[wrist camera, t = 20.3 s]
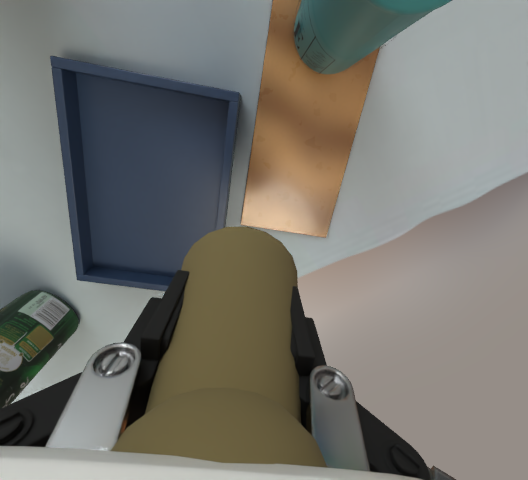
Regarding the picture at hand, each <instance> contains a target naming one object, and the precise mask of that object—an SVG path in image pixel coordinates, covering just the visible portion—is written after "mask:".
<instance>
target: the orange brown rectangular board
mask: <svg viewBox="0 0 528 480" xmlns="http://www.w3.org/2000/svg"><path fill="white" fill-rule="evenodd" d="M298 3H299V4H298ZM300 3H301V1H300V2H299V0H273V4H272V11H271V18H270V25H269V32H268V39H267V45H266V52H265V59H264V66H263V73H262V80H261V87H260V94H259V101H258V108H257V115H256V122H255V128H254V135H253V142H252V149H251V156H250V163H249V170H248V177H247V184H246V191H245V198H244V204H243V211H242V218H241V225H246V226H253V227H259V228H266V229H272V230H279V231H286V232H292V233H299V234H305V235H312V236H319V237H325V238H326V236H327V232H328V229H329V225H330V222H331V218H332V214H333V211H334V207H335V204H336V200H337V197H338V193H339V190H340V186H341V183H342V179H343V176H344V172H345V169H346V165H347V161H348V158H349V154H350V151H351V147H352V144H353V140H354V137H355V133H356V130H357V126H358V123H359V119H360V116H361V112H362V108H363V105H364V101H365V98H366V94H367V91H368V87H369V84H370V80H371V77H372V73H373V70H374V66H375V63H376V59H377V55H378V52H379V48H380V47H379V48H377V49H376V50H374V51H373V52H371V54H368V55H367V56H365V57H364V58H362V59H361V60H360V61H358V62H359V63H358V62H357V63H358V65H357V63H355V64H354V65H352V66H351V67H349V68H350V69H349V68H348V69H346V70H347V71H346V70H344V71H342V72H339V73H336V74H321V73H320V74H319V73H318V72H315V71H313V70H312V69H310V68H309V67H308V66H307V65H306V64H305V63H304V62H303V61H302V59H301V58H300V56H299V54H298V51H297V48H296V46H295V42H293V41H294V40H295V39H294V35H293V33H294V26H295V25H293V24H294V23H295V20H296V16H297V12H298V9H299V6H300ZM297 6H298V7H297ZM296 9H297V11H296ZM295 13H296V14H295ZM294 18H295V20H294ZM372 53H373V54H372ZM370 55H371V56H370ZM300 59H301V60H300ZM362 60H363V61H362ZM303 63H304V64H305V65H304V64H303ZM307 67H308V68H309V69H308V68H307ZM352 67H353V68H352ZM314 72H315V73H314ZM343 72H344V73H343Z"/></svg>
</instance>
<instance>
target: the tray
mask: <svg viewBox="0 0 528 480" xmlns="http://www.w3.org/2000/svg"><path fill="white" fill-rule="evenodd" d="M50 59H51V66H52V75H53V84H54V92H55V101H56V109H57V117H58V126H59V134H60V142H61V151H62V159H63V167H64V176H65V184H66V192H67V201H68V209H69V217H70V226H71V234H72V242H73V251H74V259H75V267H76V276H77V280H80V281H88V282H96V283H104V284H112V285H119V286H127V287H135V288H143V289H151V290H159V291H166V290H167V288H168V286H169V285H170V283H171V281H172V279H173V277H174V276H175V274H176V272H177V270H181V269H182V265H183V261H184V258H185V256H186V255H187V253H188V252H189V250H190V249H191V247H192V246H193V244H194V243H196V242H197V241H198V240H200V239H201V238H202V237H204V236H205V235H206V234H208V233H210V232H213V231H216V230H219V229H222V228H225V224H226V216H227V208H228V200H229V191H230V183H231V175H232V167H233V158H234V150H235V142H236V134H237V125H238V117H239V109H240V101H241V95H240V93H239V92H234V91H229V90H224V89H219V88H214V87H209V86H203V85H198V84H193V83H188V82H183V81H178V80H173V79H168V78H163V77H158V76H152V75H147V74H142V73H137V72H132V71H127V70H122V69H117V68H112V67H106V66H101V65H96V64H91V63H86V62H81V61H76V60H71V59H66V58H61V57H55V56H50Z"/></svg>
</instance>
